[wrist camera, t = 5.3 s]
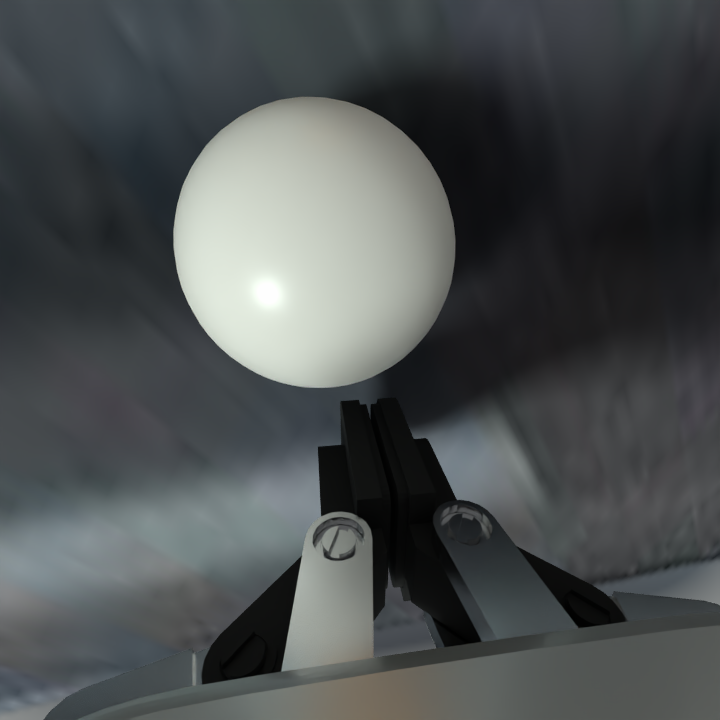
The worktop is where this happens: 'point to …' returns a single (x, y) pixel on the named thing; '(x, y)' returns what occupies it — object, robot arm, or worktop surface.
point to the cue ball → (314, 242)
